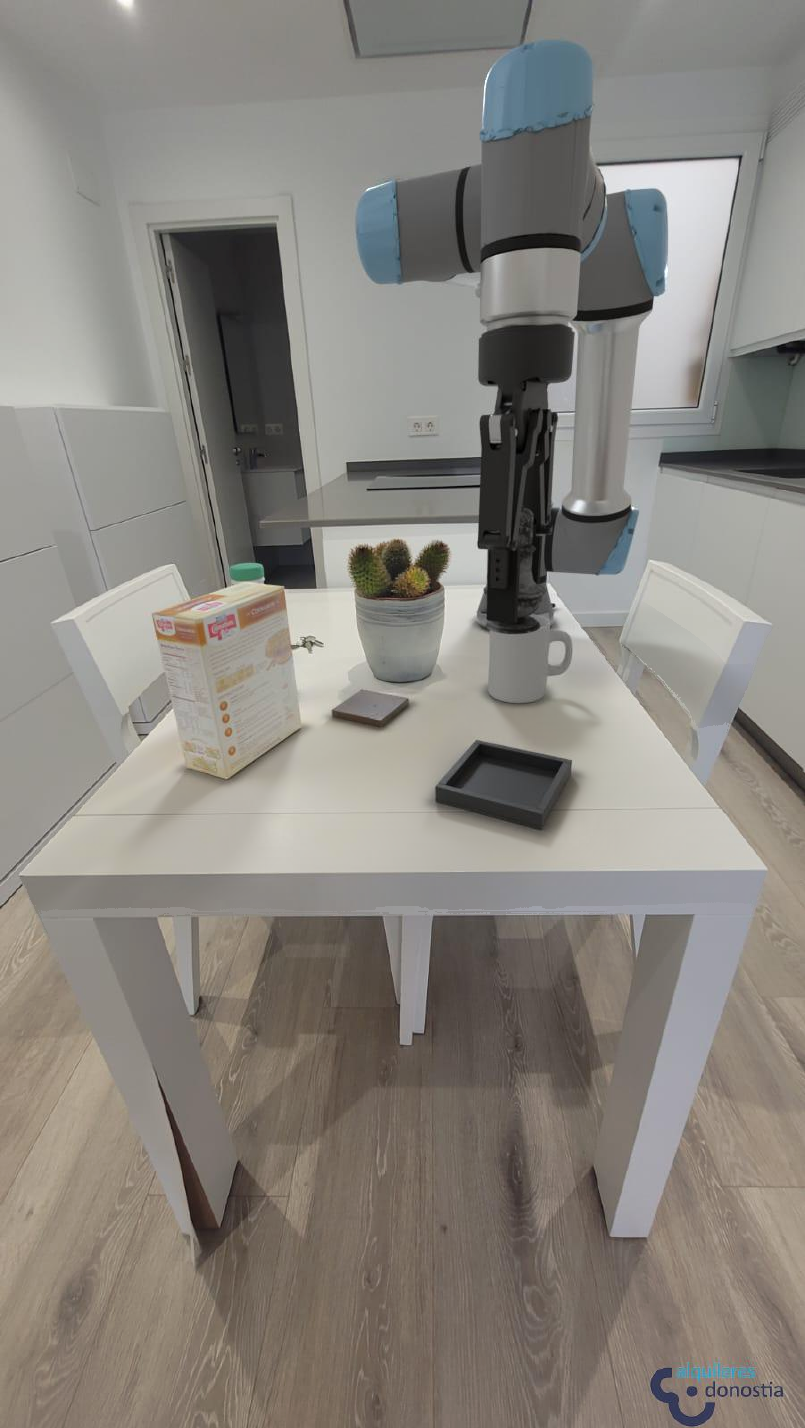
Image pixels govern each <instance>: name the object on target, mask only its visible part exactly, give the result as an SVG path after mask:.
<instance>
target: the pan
mask: <svg viewBox="0 0 805 1428" xmlns="http://www.w3.org/2000/svg"><path fill="white" fill-rule="evenodd" d="M572 764H573V760H572V759H568V758H564V757H560V756H554V755H550V754H545V753H540V752H536V751H530V750H526V749H521V748H517V747H512V746H507V745H503V744H497V743H493V742H489V741H484V740H479V739H476V740H475V741H474V742H472V744H471V745H470V746H469V747H468V748H467V750H465V752H464V753H463V754H462V755H461V757H459V759H458V760H457V761H456V762H455V763H454V765H453V766H451V768H450V769H449V770H448V771H447V772H446V773H445V775H444V776H443V777H442V778H441V779H440V781H438V783H437V784H436V785H435V787H434V790H435V791H434V793H435V794H434V795H435V798H434V799H435V801H434V802H436V803H439V804H442V805H443V804H444V805H447V806H451V807H453V808H454V807H455V808H458V809H462V810H466V811H468V812H469V811H470V812H473V813H477V814H480V815H484V816H488V817H491V818H495V819H499V820H503V821H507V822H510V823H513V824H518V825H521V826H525V827H528V828H532V829H536V830H539V831H541V830H543V827H544V825H545V824H546V821H547V820H548V819H549V816H550V814H551V812H552V811H553V808H554V807H555V805H556V803H557V801H558V799H559V798H560V796H561V793H563V792H562V791H563V790H564V788H565V786H566V784H567V782H568V781H569V778H570V776H571V775H572V766H573V765H572Z"/></svg>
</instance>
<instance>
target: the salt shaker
mask: <svg viewBox="0 0 805 1428" xmlns="http://www.w3.org/2000/svg"><path fill="white" fill-rule="evenodd" d="M533 519H534V517H533V513H532V512H531V510H529V509H528V508H525V507H524V506H523V505H522V509H521V517H520V524H519V531H518V539H517V546H516V549H521V554H520V574H519V594H518V614H517V622H516V623H515V624H514V623H505V622H497V621H487V622H486V627H487V628H488V629H487V628H486V629H487V630H488V631H490V630H491V631H494V632H498V633H503V634H525V633H530V632H534V631H536V630H538V629H539V628H540V626H541V625H540V623H539V622H538V621H537V620H535V619H534V618H533V617H530V616H529V615H531V614H533V613H534V612H535V611H536V610H537V609H538V607H539V605H540V603H541V601H542V595H544V594H545V592H546V589H545V587H543V586H541V585H539V584H536V583H535V582H534V581H533V576H532V553H533V552H534V551H535V550H536V547H534V546H533V545H532V537H533ZM483 593H485V594H486V595H487V586H486V585H485V587H484V588H483Z"/></svg>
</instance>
